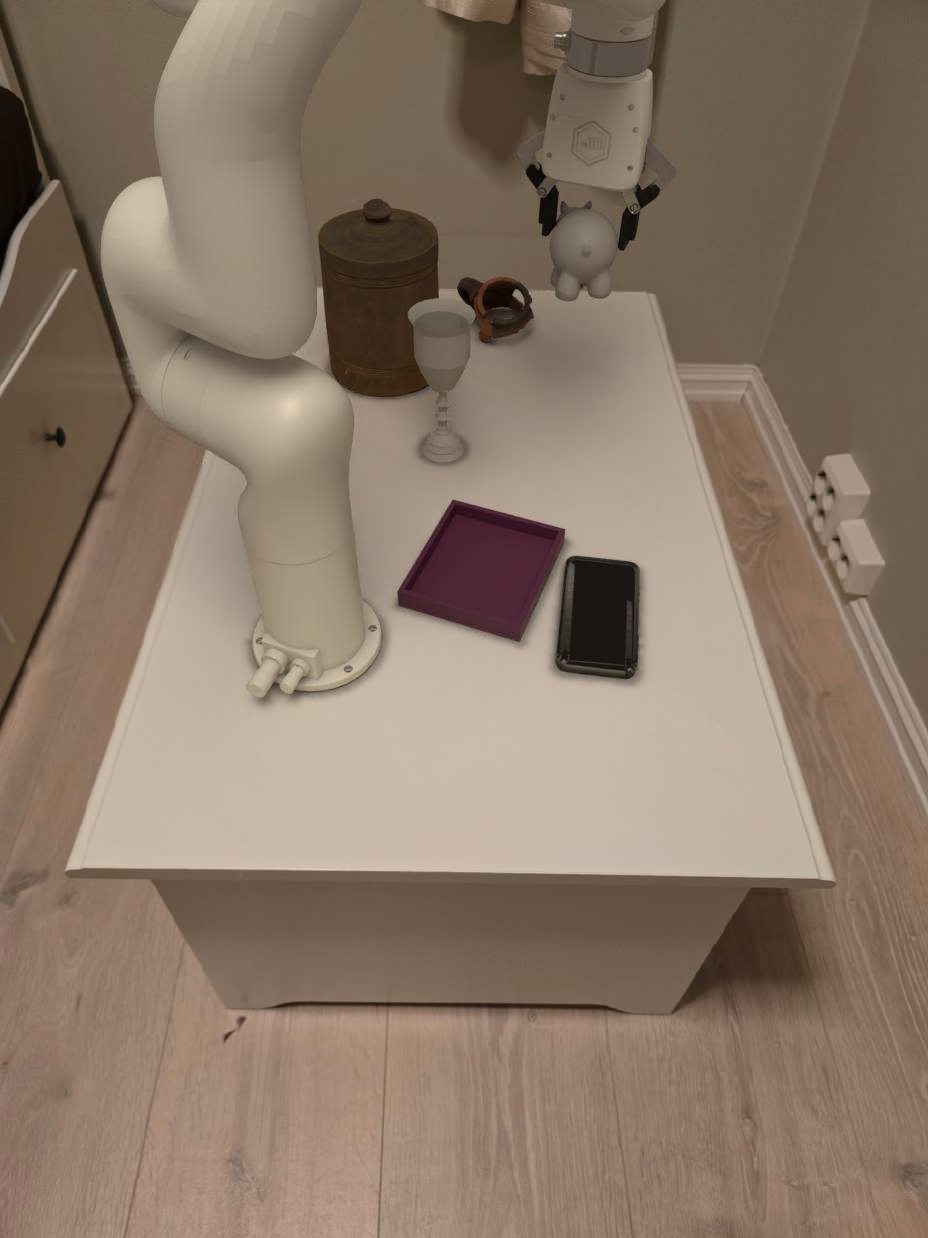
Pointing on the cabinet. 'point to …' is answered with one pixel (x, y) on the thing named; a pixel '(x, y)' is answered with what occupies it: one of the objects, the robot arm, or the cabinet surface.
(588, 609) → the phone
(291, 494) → the robot arm
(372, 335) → the wooden container
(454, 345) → the chalice
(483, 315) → the pottery mug
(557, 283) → the chubby cartoon animal
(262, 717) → the cabinet surface
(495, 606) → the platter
